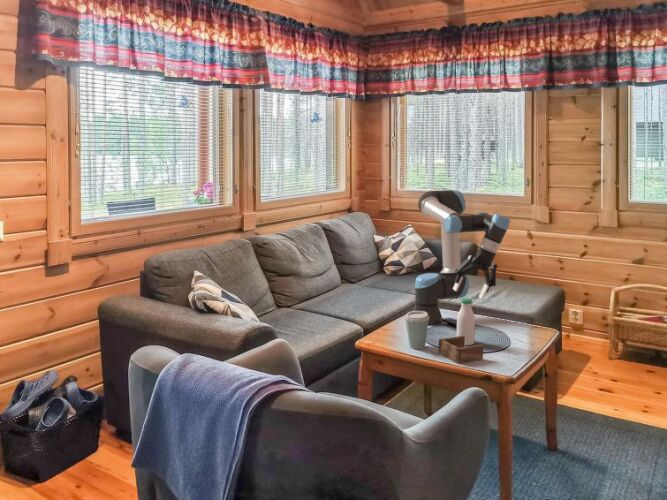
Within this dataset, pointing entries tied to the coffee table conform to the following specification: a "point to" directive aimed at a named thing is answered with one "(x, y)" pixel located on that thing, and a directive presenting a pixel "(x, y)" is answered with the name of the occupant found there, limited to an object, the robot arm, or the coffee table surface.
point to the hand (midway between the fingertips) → (467, 294)
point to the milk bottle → (466, 321)
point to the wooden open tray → (460, 350)
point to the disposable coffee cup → (417, 328)
